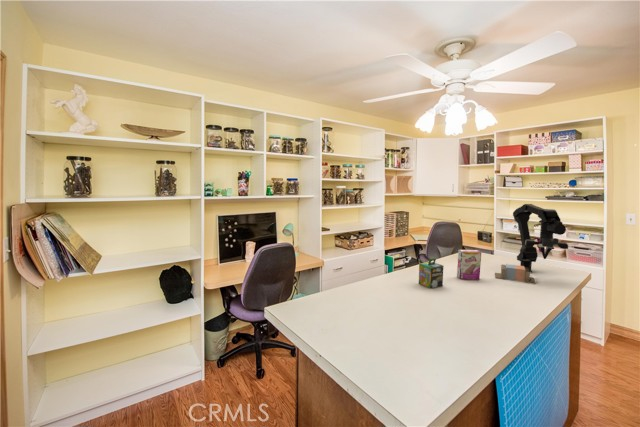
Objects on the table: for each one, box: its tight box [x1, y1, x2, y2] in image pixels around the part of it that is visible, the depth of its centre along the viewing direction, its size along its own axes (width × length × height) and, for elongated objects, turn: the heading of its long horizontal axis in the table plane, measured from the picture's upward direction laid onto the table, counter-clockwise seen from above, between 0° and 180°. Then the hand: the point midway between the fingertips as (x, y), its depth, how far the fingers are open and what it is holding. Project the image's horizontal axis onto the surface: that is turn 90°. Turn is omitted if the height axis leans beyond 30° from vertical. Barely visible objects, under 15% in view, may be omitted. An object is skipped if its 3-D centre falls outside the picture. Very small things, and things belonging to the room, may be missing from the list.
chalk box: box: [418, 258, 444, 289], centre depth 157 cm, size 9×9×15 cm
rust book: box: [514, 264, 526, 283], centre depth 166 cm, size 8×4×7 cm, turn 149°
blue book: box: [505, 263, 516, 281], centre depth 168 cm, size 8×4×7 cm, turn 149°
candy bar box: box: [456, 249, 482, 281], centre depth 167 cm, size 11×5×16 cm, turn 84°
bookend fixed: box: [494, 264, 507, 280], centre depth 170 cm, size 10×5×6 cm, turn 149°
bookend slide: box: [524, 267, 537, 285], centre depth 163 cm, size 10×5×6 cm, turn 149°
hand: (544, 258), depth 164 cm, fingers closed
